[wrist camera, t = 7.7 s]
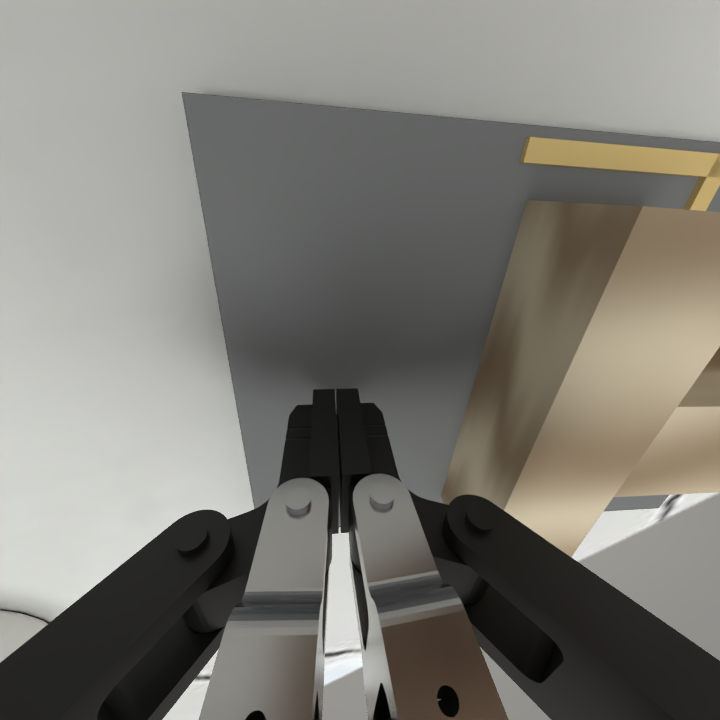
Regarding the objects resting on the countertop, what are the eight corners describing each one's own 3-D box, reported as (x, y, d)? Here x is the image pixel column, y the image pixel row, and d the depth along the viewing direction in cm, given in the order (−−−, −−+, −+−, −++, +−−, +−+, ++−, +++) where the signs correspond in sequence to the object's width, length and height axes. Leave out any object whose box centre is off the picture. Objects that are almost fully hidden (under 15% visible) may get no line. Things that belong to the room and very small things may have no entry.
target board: (196, 101, 8) (178, 89, 7) (894, 165, 11) (953, 162, 10) (262, 514, 17) (257, 535, 16) (643, 493, 20) (661, 511, 19)
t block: (527, 200, 10) (643, 206, 6) (840, 223, 11) (1081, 239, 7) (440, 496, 16) (472, 579, 13) (640, 487, 18) (718, 560, 14)
